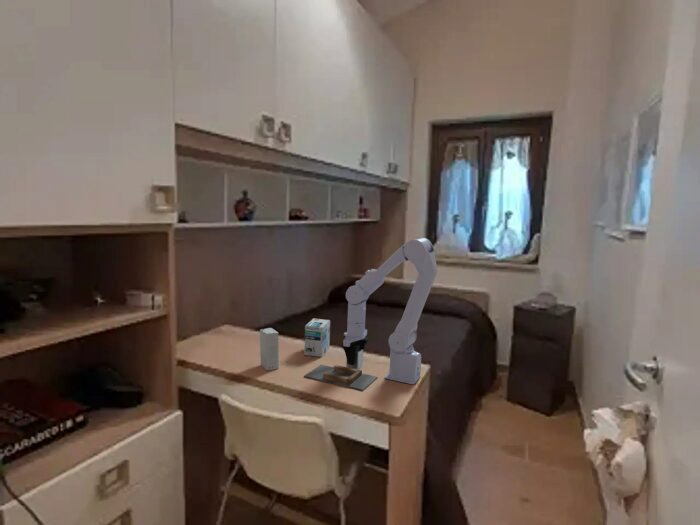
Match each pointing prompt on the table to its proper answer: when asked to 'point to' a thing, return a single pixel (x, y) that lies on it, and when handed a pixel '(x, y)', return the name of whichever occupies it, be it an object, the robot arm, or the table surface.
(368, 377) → the dock
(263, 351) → the skincare box
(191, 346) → the table surface
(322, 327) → the light bulb box
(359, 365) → the aluminium block
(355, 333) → the robot arm
